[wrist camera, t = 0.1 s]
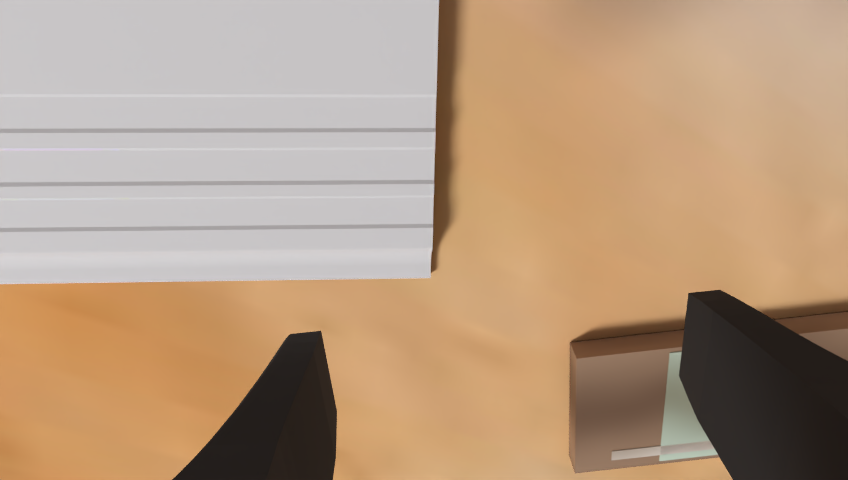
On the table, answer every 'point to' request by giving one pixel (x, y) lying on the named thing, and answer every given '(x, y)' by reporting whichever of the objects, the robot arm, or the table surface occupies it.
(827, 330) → the board
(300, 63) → the baseboard molding
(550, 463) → the table surface
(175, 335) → the table surface
